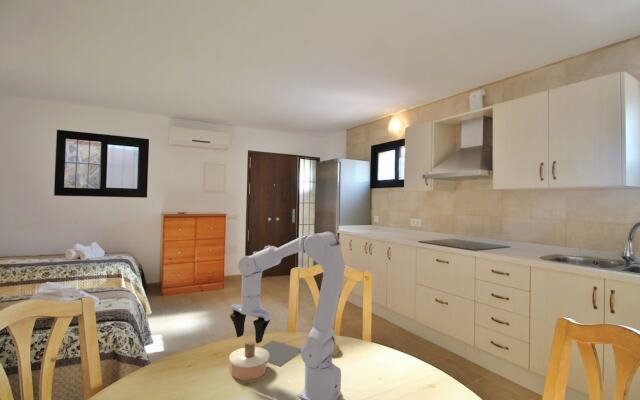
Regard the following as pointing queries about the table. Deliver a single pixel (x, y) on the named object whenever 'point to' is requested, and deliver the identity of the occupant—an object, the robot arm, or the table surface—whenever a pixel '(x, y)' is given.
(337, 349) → the bread roll
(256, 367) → the bowl
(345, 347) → the table surface
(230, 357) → the lid
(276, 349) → the mat
